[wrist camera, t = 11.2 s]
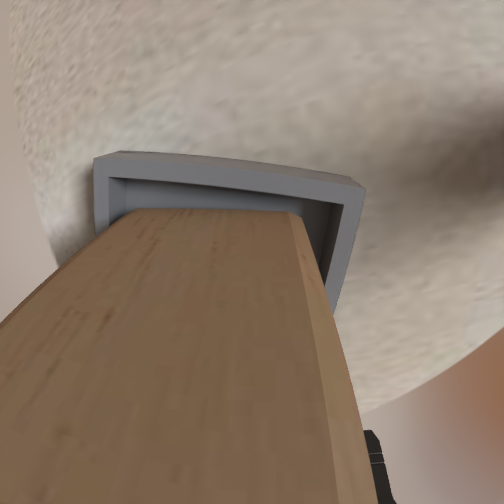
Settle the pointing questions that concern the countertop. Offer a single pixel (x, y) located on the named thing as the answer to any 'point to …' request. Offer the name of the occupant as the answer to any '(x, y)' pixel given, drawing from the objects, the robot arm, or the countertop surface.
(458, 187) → the countertop surface
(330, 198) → the tray
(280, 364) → the wooden block
